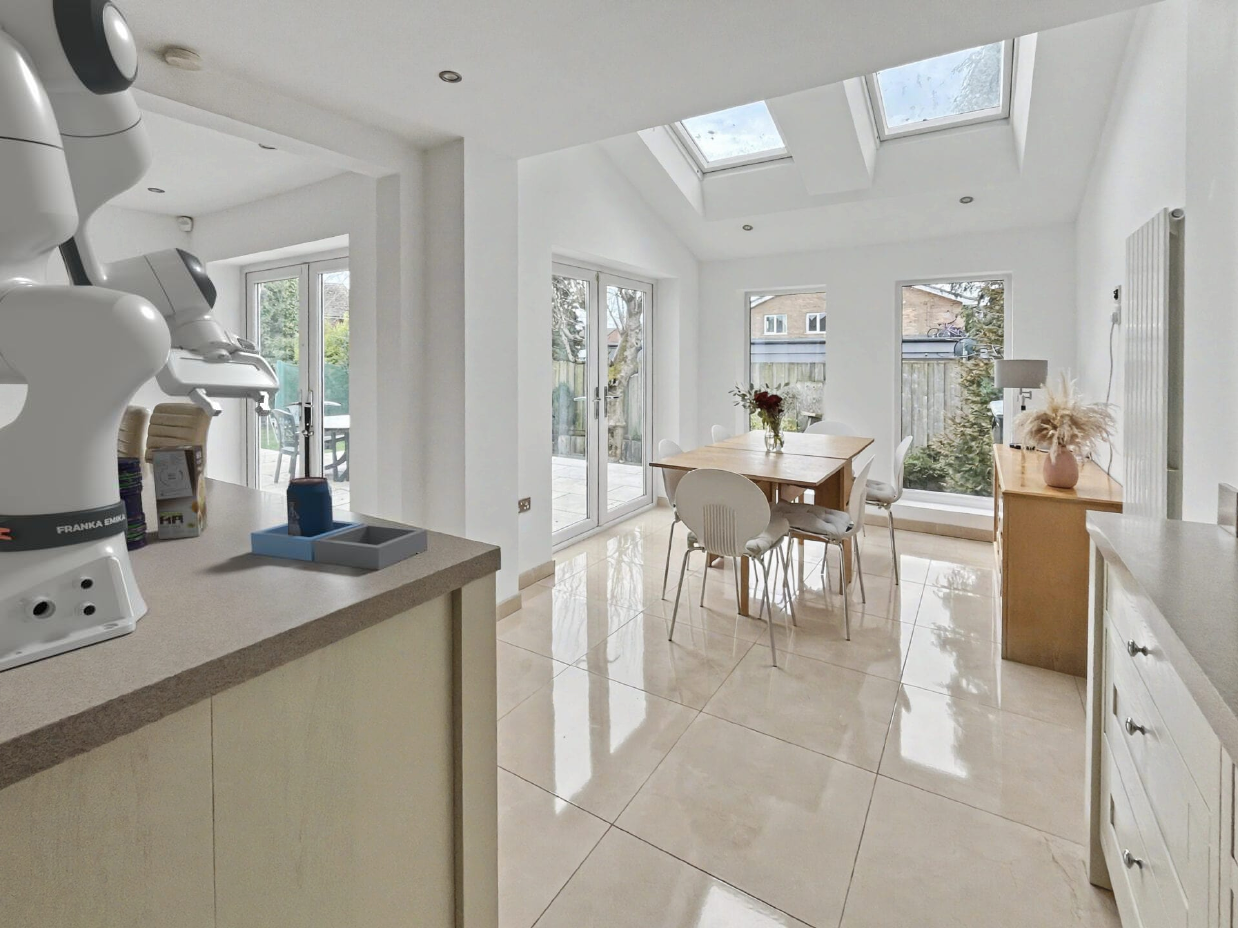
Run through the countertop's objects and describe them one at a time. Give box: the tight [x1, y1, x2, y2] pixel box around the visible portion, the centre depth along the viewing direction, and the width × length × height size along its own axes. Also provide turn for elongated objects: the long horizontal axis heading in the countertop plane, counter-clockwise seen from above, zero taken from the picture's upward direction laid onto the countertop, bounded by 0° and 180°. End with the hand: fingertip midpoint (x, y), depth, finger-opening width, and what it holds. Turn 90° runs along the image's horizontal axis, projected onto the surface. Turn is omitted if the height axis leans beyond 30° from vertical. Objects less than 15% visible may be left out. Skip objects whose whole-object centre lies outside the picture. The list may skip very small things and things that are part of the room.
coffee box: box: [151, 444, 209, 540], centre depth 116 cm, size 9×6×16 cm
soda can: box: [286, 476, 334, 537], centre depth 107 cm, size 7×7×12 cm
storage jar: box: [117, 456, 148, 553], centre depth 105 cm, size 10×10×15 cm
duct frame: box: [250, 519, 428, 571], centre depth 106 cm, size 12×25×4 cm, turn 72°
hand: (241, 414), depth 107 cm, fingers open, 8 cm apart
